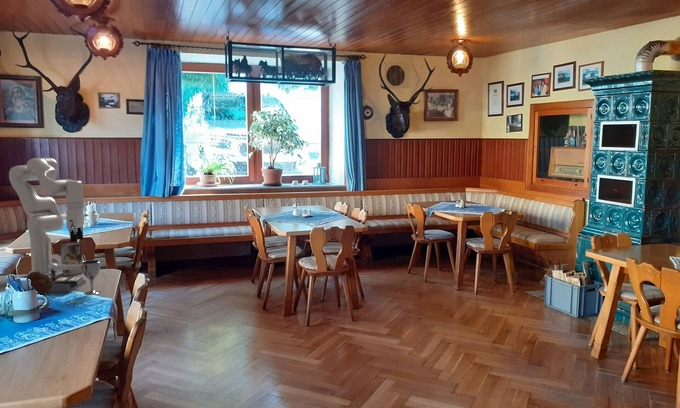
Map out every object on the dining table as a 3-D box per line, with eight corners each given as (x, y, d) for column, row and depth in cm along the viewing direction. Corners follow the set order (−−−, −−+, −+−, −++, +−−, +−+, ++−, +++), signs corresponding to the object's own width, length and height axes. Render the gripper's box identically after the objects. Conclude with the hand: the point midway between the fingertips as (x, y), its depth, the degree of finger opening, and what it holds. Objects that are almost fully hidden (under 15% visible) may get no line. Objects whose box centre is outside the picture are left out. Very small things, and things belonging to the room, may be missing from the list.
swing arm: (46, 270, 255) (46, 264, 254) (50, 268, 259) (50, 263, 258) (84, 271, 256) (84, 265, 255) (87, 269, 260) (87, 263, 259)
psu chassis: (55, 282, 264) (54, 267, 263) (85, 282, 264) (85, 267, 263) (35, 293, 245) (35, 277, 244) (68, 293, 246) (67, 277, 245)
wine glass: (104, 290, 251) (103, 260, 249) (95, 295, 243) (94, 264, 241) (89, 290, 251) (87, 259, 250) (79, 294, 244) (77, 263, 242)
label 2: (73, 278, 260) (73, 277, 260) (80, 278, 260) (80, 277, 260) (68, 280, 255) (68, 280, 255) (76, 280, 256) (76, 280, 255)
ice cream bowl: (45, 308, 223) (43, 274, 221) (19, 308, 223) (17, 274, 222) (59, 301, 234) (57, 268, 232) (34, 300, 234) (32, 268, 232)
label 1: (61, 278, 260) (61, 277, 260) (68, 278, 260) (68, 277, 260) (56, 280, 255) (56, 280, 255) (63, 280, 255) (63, 280, 255)
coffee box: (79, 270, 287) (78, 242, 285) (83, 273, 283) (81, 244, 281) (61, 273, 281) (60, 244, 279) (64, 275, 277) (63, 246, 275)
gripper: (75, 203, 269) (76, 237, 271) (59, 207, 252) (61, 244, 254) (90, 203, 269) (91, 237, 271) (75, 207, 252) (76, 244, 254)
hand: (76, 240), depth 263 cm, fingers open, 5 cm apart
